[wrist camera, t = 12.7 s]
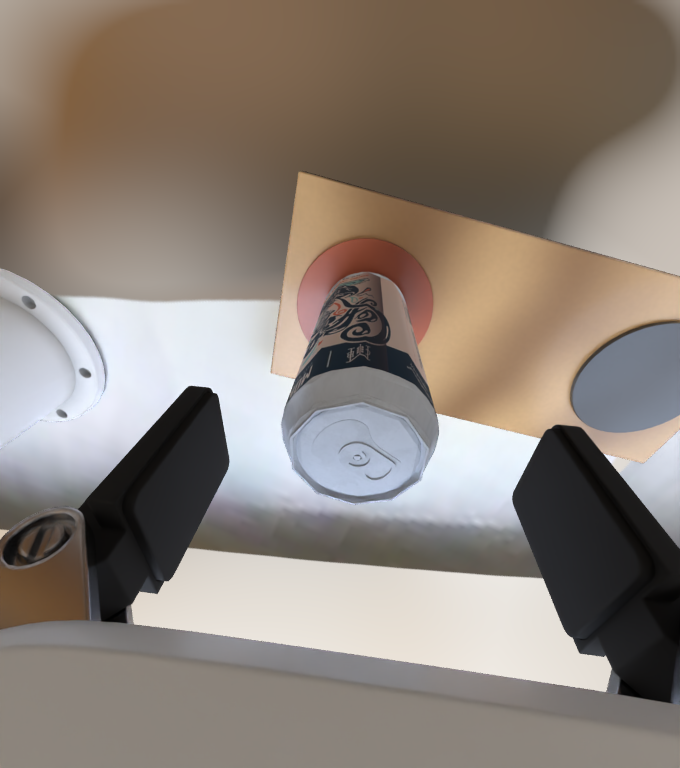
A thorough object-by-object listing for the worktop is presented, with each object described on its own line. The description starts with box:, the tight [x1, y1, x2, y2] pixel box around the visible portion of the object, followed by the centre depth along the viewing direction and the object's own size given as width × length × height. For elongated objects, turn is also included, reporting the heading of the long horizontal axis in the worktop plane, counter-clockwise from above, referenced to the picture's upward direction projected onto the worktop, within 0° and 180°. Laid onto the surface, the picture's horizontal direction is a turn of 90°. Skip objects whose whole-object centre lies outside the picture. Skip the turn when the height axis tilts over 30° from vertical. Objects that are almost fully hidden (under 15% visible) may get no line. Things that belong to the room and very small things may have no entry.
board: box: [271, 171, 680, 463], centre depth 21 cm, size 28×12×2 cm, turn 77°
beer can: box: [281, 272, 439, 505], centre depth 14 cm, size 5×5×12 cm
